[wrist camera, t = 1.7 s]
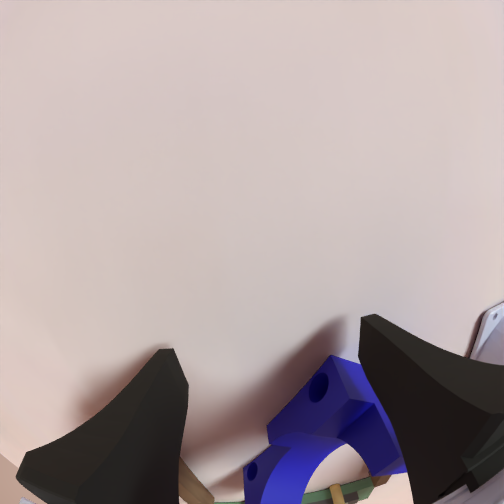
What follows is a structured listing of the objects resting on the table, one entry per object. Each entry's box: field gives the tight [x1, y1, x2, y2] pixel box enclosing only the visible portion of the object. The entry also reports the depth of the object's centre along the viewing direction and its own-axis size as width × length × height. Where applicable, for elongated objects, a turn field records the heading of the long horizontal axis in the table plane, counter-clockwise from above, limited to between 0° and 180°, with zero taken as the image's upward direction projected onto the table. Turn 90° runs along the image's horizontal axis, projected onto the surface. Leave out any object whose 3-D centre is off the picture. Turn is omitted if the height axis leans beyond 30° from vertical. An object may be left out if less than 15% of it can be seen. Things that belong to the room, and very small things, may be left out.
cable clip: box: [243, 355, 407, 504], centre depth 11 cm, size 12×4×6 cm, turn 152°
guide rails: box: [179, 457, 391, 504], centre depth 14 cm, size 17×15×2 cm
